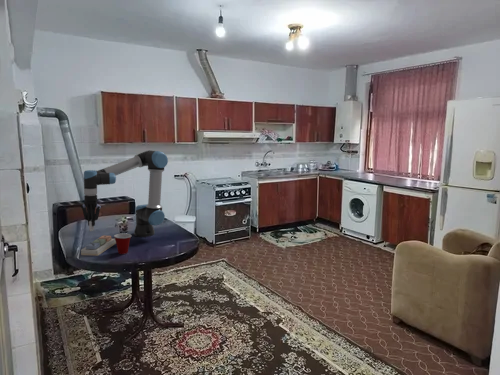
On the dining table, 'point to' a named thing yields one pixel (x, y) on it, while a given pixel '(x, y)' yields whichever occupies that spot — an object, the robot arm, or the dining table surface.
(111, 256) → the dining table surface
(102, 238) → the tile one
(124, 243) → the plastic cup
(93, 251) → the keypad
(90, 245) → the tile three
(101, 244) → the tile two
